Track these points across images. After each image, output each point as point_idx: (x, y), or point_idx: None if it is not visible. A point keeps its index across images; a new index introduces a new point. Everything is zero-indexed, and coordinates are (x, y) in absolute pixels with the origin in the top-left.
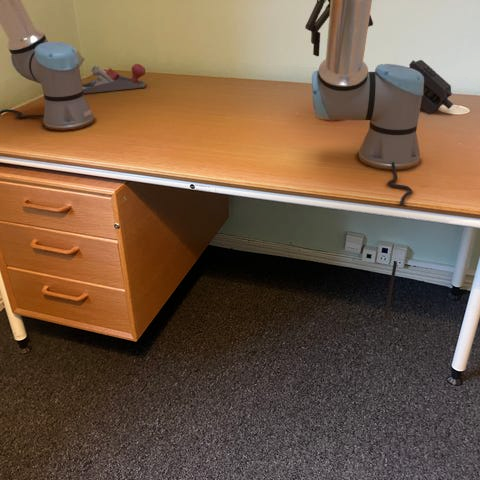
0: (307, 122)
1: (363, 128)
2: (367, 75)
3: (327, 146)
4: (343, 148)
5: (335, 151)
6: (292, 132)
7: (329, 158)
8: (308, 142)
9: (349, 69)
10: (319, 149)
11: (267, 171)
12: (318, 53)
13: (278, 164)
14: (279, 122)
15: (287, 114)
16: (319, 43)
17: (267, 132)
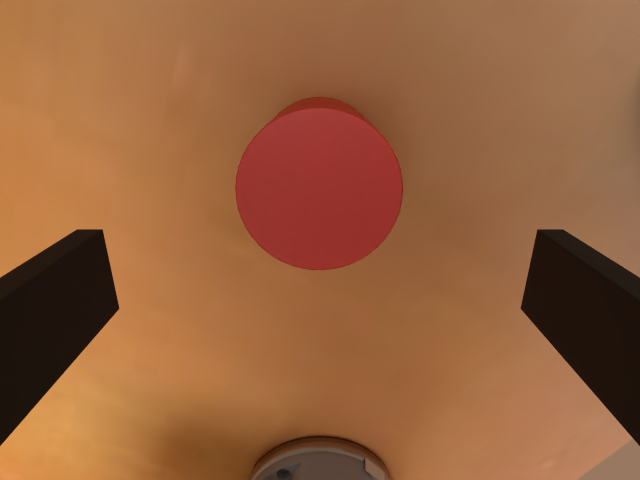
0: (196, 191)
1: (369, 305)
2: None
3: (198, 393)
4: (238, 414)
5: (209, 424)
6: (116, 268)
7: (179, 453)
8: (151, 355)
9: None
10: (170, 403)
11: (11, 472)
12: (100, 323)
13: (41, 449)
14: (83, 155)
15: (134, 64)
16: (47, 386)
17: (25, 242)
